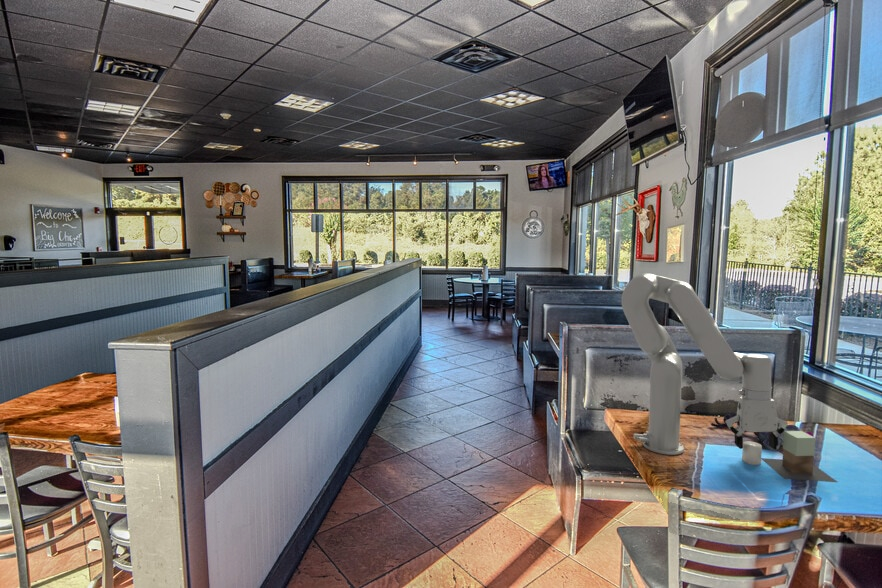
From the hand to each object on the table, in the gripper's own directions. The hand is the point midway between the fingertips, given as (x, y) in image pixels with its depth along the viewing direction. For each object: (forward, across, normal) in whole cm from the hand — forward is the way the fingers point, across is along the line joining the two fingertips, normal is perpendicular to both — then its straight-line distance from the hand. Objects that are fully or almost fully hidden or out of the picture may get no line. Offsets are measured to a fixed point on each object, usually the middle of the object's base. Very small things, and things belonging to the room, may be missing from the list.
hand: (755, 447), depth 150 cm
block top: (0, +10, -4) cm, 11 cm away
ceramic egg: (+5, -1, 0) cm, 5 cm away
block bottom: (+5, +10, -4) cm, 12 cm away
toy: (+6, +10, +20) cm, 23 cm away
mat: (+6, +10, -4) cm, 12 cm away
